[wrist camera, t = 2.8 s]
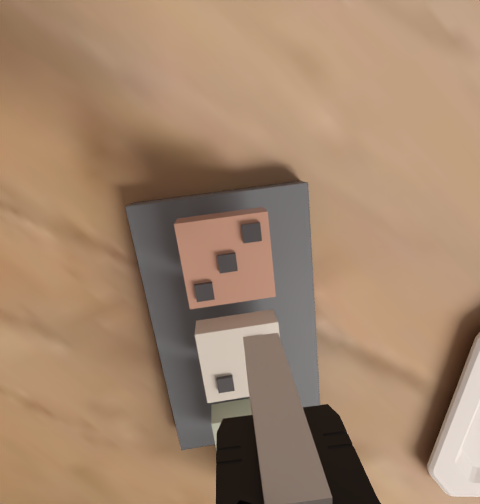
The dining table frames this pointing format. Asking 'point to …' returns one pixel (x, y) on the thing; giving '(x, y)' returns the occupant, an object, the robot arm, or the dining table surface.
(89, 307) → the dining table surface
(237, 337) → the tile two
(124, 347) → the dining table surface
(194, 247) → the tile three
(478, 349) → the plate
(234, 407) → the tile one
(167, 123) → the dining table surface
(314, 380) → the board
